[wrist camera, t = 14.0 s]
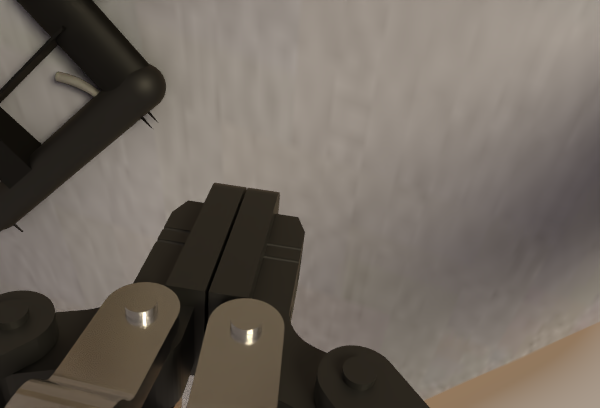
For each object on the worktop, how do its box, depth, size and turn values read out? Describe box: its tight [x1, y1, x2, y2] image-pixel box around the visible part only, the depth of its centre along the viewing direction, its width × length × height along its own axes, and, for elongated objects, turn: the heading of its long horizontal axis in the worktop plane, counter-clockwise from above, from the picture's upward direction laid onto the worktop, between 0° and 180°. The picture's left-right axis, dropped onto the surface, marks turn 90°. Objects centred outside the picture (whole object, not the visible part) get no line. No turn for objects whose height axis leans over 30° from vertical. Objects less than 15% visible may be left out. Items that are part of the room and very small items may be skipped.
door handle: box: [0, 0, 166, 232], centre depth 39 cm, size 3×20×16 cm
